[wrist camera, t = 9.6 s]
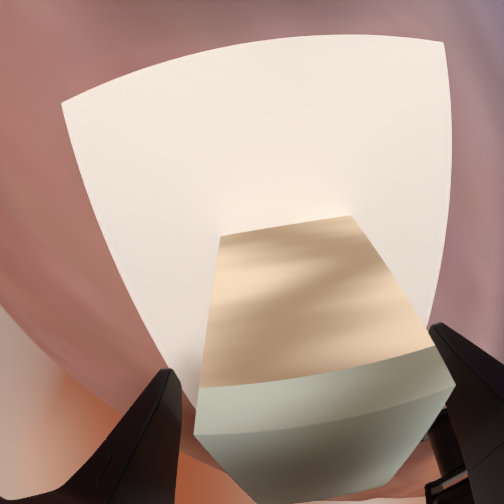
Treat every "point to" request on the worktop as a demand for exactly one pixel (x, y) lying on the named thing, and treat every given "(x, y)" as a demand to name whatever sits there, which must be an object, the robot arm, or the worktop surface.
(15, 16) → the worktop surface
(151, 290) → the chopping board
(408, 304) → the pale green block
